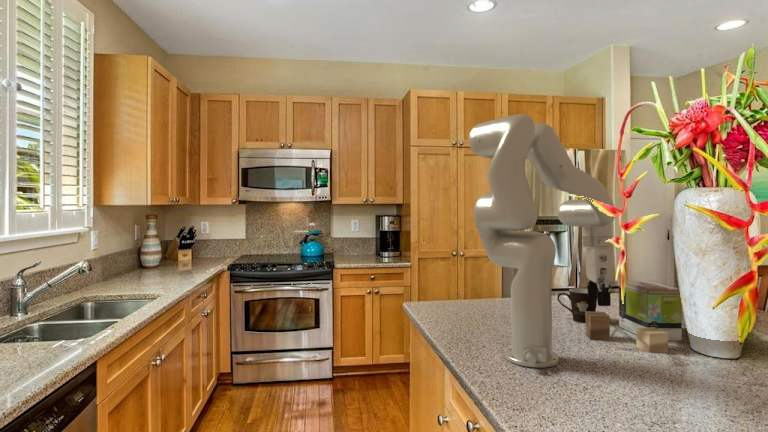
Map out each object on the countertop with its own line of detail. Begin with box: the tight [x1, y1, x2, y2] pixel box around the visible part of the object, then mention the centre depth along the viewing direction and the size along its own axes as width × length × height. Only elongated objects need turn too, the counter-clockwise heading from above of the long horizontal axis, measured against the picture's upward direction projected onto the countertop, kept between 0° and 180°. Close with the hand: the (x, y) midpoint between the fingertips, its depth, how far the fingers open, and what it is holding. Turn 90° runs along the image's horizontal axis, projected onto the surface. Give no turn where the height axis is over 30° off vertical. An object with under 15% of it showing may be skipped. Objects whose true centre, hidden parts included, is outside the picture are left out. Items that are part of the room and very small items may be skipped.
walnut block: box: [585, 311, 611, 342], centre depth 120 cm, size 5×5×7 cm
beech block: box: [635, 327, 669, 353], centre depth 110 cm, size 5×5×5 cm
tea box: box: [618, 280, 683, 342], centre depth 123 cm, size 15×10×15 cm, turn 179°
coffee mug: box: [556, 287, 598, 324], centre depth 139 cm, size 12×9×10 cm
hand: (598, 301), depth 120 cm, fingers open, 9 cm apart
